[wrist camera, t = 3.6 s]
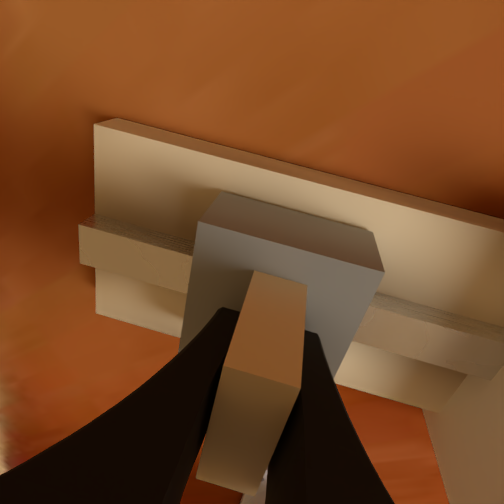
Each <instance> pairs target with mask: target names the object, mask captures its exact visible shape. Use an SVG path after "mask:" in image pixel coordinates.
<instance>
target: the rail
mask: <svg viewBox="0 0 504 504" xmlns="http://www.w3.org/2000/svg"><path fill="white" fill-rule="evenodd" d="M78 227H79V254H80V264H84V265H87V266H91V267H94V268H98V269H101V270H105V271H108V272H112V273H115V274H119V275H122V276H126V277H129V278H133V279H136V280H140V281H143V282H147V283H150V284H154V285H157V286H161V287H164V288H168V289H171V290H175V291H178V292H182V293H185V294H187V291H188V285H189V278H190V272H191V265H192V258H193V252H194V245H195V241H192V240H188V239H184V238H181V237H177V236H174V235H170V234H166V233H163V232H159V231H156V230H152V229H148V228H145V227H141V226H138V225H134V224H130V223H127V222H123V221H120V220H116V219H112V218H109V217H105V216H102V215H98V214H93V215H92V216H90V217H89V218H87V219H86V220H84V221H83V222H81V223H80V224H78ZM352 341H353V342H357V343H360V344H364V345H367V346H371V347H374V348H378V349H381V350H385V351H388V352H392V353H395V354H399V355H402V356H406V357H409V358H413V359H416V360H420V361H423V362H427V363H430V364H434V365H437V366H441V367H444V368H448V369H451V370H455V371H458V372H462V373H465V374H469V375H472V376H476V377H479V378H483V379H486V380H490V381H491V380H492V379H493V377H494V376H495V375H496V374H497V372H498V371H499V370H500V369H501V368H502V366H503V365H504V327H501V326H498V325H494V324H490V323H487V322H483V321H480V320H476V319H472V318H469V317H465V316H462V315H458V314H454V313H451V312H447V311H444V310H440V309H436V308H433V307H429V306H426V305H422V304H418V303H415V302H411V301H408V300H404V299H400V298H397V297H393V296H390V295H386V294H382V293H379V292H376V293H375V295H374V297H373V299H372V301H371V303H370V305H369V307H368V309H367V311H366V313H365V315H364V317H363V319H362V321H361V324H360V326H359V328H358V330H357V332H356V334H355V336H354V338H353V340H352Z"/></svg>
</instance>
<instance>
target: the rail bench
mask: <svg viewBox="0 0 504 504" xmlns="http://www.w3.org/2000/svg"><path fill="white" fill-rule="evenodd" d="M94 187H95V214H98V215H102V216H105V217H109V218H112V219H116V220H120V221H123V222H127V223H130V224H134V225H138V226H141V227H145V228H148V229H152V230H156V231H159V232H163V233H166V234H170V235H174V236H177V237H181V238H184V239H188V240H192V241H195V239H196V232H197V225H198V221H199V219H200V218H201V217H202V216H203V214H204V213H205V212H206V211H207V209H208V208H209V207H210V205H211V204H212V203H213V202H214V200H215V199H216V198H217V197H218V195H219V194H220V193H221V191H223V192H226V193H230V194H234V195H237V196H241V197H245V198H249V199H252V200H256V201H260V202H263V203H267V204H271V205H275V206H278V207H282V208H286V209H289V210H293V211H297V212H301V213H304V214H308V215H312V216H315V217H319V218H323V219H326V220H330V221H334V222H338V223H341V224H345V225H349V226H352V227H356V228H360V229H364V230H367V231H371V232H373V234H374V237H375V241H376V244H377V247H378V251H379V254H380V257H381V261H382V264H383V267H384V270H385V274H384V276H383V278H382V280H381V282H380V284H379V286H378V288H377V291H376V292H379V293H382V294H386V295H390V296H393V297H397V298H400V299H404V300H408V301H411V302H415V303H418V304H422V305H426V306H429V307H433V308H436V309H440V310H444V311H447V312H451V313H454V314H458V315H462V316H465V317H469V318H472V319H476V320H480V321H483V322H487V323H490V324H494V325H498V326H501V327H504V219H500V218H496V217H493V216H489V215H485V214H481V213H477V212H474V211H470V210H466V209H462V208H458V207H455V206H451V205H447V204H443V203H439V202H436V201H432V200H428V199H424V198H420V197H417V196H413V195H409V194H405V193H401V192H398V191H394V190H390V189H386V188H382V187H379V186H375V185H371V184H367V183H363V182H360V181H356V180H352V179H348V178H344V177H341V176H337V175H333V174H329V173H325V172H322V171H318V170H314V169H310V168H306V167H303V166H299V165H295V164H291V163H287V162H284V161H280V160H276V159H272V158H268V157H265V156H261V155H257V154H253V153H249V152H246V151H242V150H238V149H234V148H230V147H227V146H223V145H219V144H215V143H211V142H208V141H204V140H200V139H196V138H192V137H189V136H185V135H181V134H177V133H173V132H169V131H166V130H162V129H158V128H154V127H150V126H147V125H143V124H139V123H135V122H131V121H128V120H124V119H120V118H115V119H111V120H107V121H103V122H99V123H96V124H94ZM95 275H96V313H97V314H100V315H104V316H107V317H110V318H114V319H117V320H121V321H124V322H128V323H131V324H134V325H138V326H141V327H145V328H148V329H152V330H155V331H158V332H162V333H165V334H169V335H172V336H175V337H179V338H181V331H182V325H183V318H184V311H185V305H186V298H187V294H185V293H182V292H178V291H175V290H171V289H168V288H164V287H161V286H157V285H154V284H150V283H147V282H143V281H140V280H136V279H133V278H129V277H126V276H122V275H119V274H115V273H112V272H108V271H105V270H101V269H98V268H95ZM467 375H468V374H465V373H462V372H458V371H455V370H451V369H448V368H444V367H441V366H437V365H434V364H430V363H427V362H423V361H420V360H416V359H413V358H409V357H406V356H402V355H399V354H395V353H392V352H388V351H385V350H381V349H378V348H374V347H371V346H367V345H364V344H360V343H357V342H353V341H352V342H351V344H350V346H349V348H348V350H347V352H346V354H345V357H344V359H343V361H342V363H341V365H340V367H339V369H338V371H337V373H336V375H335V377H334V382H335V383H336V384H340V385H343V386H347V387H350V388H353V389H357V390H360V391H364V392H367V393H370V394H374V395H377V396H381V397H384V398H388V399H391V400H394V401H398V402H401V403H405V404H408V405H412V406H415V407H418V408H422V409H425V410H429V411H432V412H435V413H439V412H440V411H441V409H442V408H443V407H444V405H445V404H446V403H447V402H448V400H449V399H450V398H451V396H452V395H453V394H454V392H455V391H456V390H457V388H458V387H459V386H460V384H461V383H462V382H463V380H464V379H465V378H466V376H467Z"/></svg>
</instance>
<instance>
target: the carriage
mask: <svg viewBox="0 0 504 504" xmlns="http://www.w3.org/2000/svg"><path fill="white" fill-rule="evenodd" d="M384 274H385V270H384V267H383V264H382V261H381V257H380V254H379V251H378V247H377V244H376V241H375V237H374V234H373V232H371V231H367V230H364V229H360V228H356V227H352V226H349V225H345V224H341V223H338V222H334V221H330V220H326V219H323V218H319V217H315V216H312V215H308V214H304V213H301V212H297V211H293V210H289V209H286V208H282V207H278V206H275V205H271V204H267V203H263V202H260V201H256V200H252V199H249V198H245V197H241V196H237V195H234V194H230V193H226V192H223V191H221V193H220V194H219V195H218V197H217V198H216V199H215V200H214V202H213V203H212V204H211V205H210V207H209V208H208V209H207V211H206V212H205V213H204V214H203V216H202V217H201V218H200V219H199V221H198V225H197V232H196V239H195V245H194V252H193V258H192V265H191V272H190V278H189V285H188V291H187V298H186V305H185V311H184V318H183V325H182V331H181V338H180V344H179V351H178V353H179V352H180V351H181V350H182V349H183V348H184V347H185V346H186V345H187V344H188V343H189V342H190V341H191V340H192V339H193V338H194V337H195V336H196V335H197V334H198V333H199V332H200V331H201V330H202V329H203V328H204V326H205V325H206V324H207V323H208V322H209V321H210V319H211V318H212V317H213V316H214V314H215V313H216V311H217V310H218V309H219V308H221V307H225V308H229V309H232V310H236V311H239V312H241V313H240V316H239V319H238V322H237V325H236V328H235V331H234V334H233V337H232V340H231V343H230V346H229V349H228V352H227V355H226V358H225V362H224V365H223V368H222V372H221V376H220V381H219V385H218V389H217V393H216V397H215V401H214V405H213V409H212V413H211V417H210V421H209V425H208V429H207V433H206V437H205V441H204V445H203V449H202V454H201V458H200V462H199V466H198V470H197V474H196V479H199V480H202V481H206V482H209V483H212V484H215V485H218V486H222V487H225V488H228V489H231V490H235V491H238V492H241V493H244V494H247V495H251V496H254V497H255V495H256V493H257V490H258V488H259V486H260V483H261V481H262V479H263V476H264V474H265V471H266V469H267V467H268V464H269V462H270V460H271V457H272V455H273V453H274V450H275V448H276V446H277V443H278V441H279V438H280V436H281V434H282V431H283V429H284V427H285V424H286V422H287V420H288V417H289V415H290V413H291V410H292V408H293V405H294V403H295V401H296V398H297V396H298V394H299V391H300V389H301V377H302V361H303V346H304V331H305V330H307V331H310V332H314V333H317V334H318V335H319V337H320V340H321V344H322V347H323V350H324V353H325V356H326V359H327V362H328V365H329V368H330V371H331V374H332V376H333V379H334V377H335V375H336V373H337V371H338V369H339V367H340V365H341V363H342V361H343V359H344V357H345V354H346V352H347V350H348V348H349V346H350V344H351V342H352V340H353V338H354V336H355V334H356V332H357V330H358V328H359V326H360V324H361V321H362V319H363V317H364V315H365V313H366V311H367V309H368V307H369V305H370V303H371V301H372V299H373V297H374V295H375V293H376V291H377V288H378V286H379V284H380V282H381V280H382V278H383V276H384Z"/></svg>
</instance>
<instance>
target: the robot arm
mask: <svg viewBox="0 0 504 504" xmlns="http://www.w3.org/2000/svg"><path fill="white" fill-rule="evenodd" d="M240 313H241V312H239V311H236V310H232V309H229V308H225V307H221V308H219V309H218V310H217V311H216V313H215V314H214V316H213V317H212V318H211V319H210V321H209V322H208V323H207V324H206V325H205V326H204V328H203V329H202V330H201V331H200V332H199V333H198V334H197V335H196V336H195V337H194V338H193V339H192V340H191V341H190V342H189V343H188V344H187V345H186V346H185V347H184V348H183V349H182V350H181V351H180V352H179V353H178V354H177V355H176V356H175V357H174V358H173V359H172V360H171V361H170V362H168V363H167V364H166V365H165V366H164V367H163V368H162V369H160V370H159V371H158V372H157V373H156V374H155V375H154V376H152V377H151V378H150V379H149V380H148V381H146V382H145V383H144V384H143V385H141V386H140V387H139V388H138V389H136V390H135V391H134V392H132V393H131V394H130V395H128V396H127V397H126V398H124V399H123V400H122V401H120V402H119V403H118V404H116V405H115V406H113V407H112V408H110V409H109V410H107V411H106V412H105V413H103V414H102V415H100V416H99V417H97V418H96V419H94V420H93V421H92V422H90V423H88V424H87V425H85V426H84V427H82V428H81V429H79V430H78V431H76V432H74V433H73V434H71V435H70V436H68V437H66V438H65V439H63V440H61V441H59V442H58V443H56V444H54V445H53V446H51V447H49V448H48V449H46V450H44V451H43V452H41V453H39V454H37V455H36V456H34V457H32V458H31V459H29V460H27V461H26V462H24V463H22V464H20V465H18V466H17V467H15V468H13V469H11V470H9V471H7V472H6V473H4V474H2V475H0V504H180V500H181V497H182V494H183V491H184V488H185V486H186V483H187V480H188V477H189V475H190V472H191V470H192V467H193V465H194V462H195V460H196V457H197V455H198V452H199V450H200V447H201V445H202V442H203V440H204V437H205V435H206V432H207V429H208V425H209V421H210V417H211V413H212V409H213V405H214V401H215V397H216V393H217V389H218V385H219V381H220V376H221V372H222V368H223V365H224V362H225V358H226V355H227V352H228V349H229V346H230V343H231V340H232V337H233V334H234V331H235V328H236V325H237V322H238V319H239V316H240ZM240 504H395V503H394V502H393V500H392V498H391V497H390V495H389V493H388V492H387V490H386V488H385V487H384V485H383V483H382V481H381V479H380V478H379V476H378V474H377V472H376V470H375V468H374V467H373V465H372V463H371V461H370V459H369V457H368V455H367V453H366V451H365V449H364V447H363V445H362V443H361V441H360V439H359V437H358V435H357V433H356V431H355V429H354V427H353V424H352V422H351V420H350V418H349V416H348V413H347V411H346V409H345V406H344V404H343V402H342V399H341V397H340V394H339V392H338V389H337V387H336V384H335V382H334V379H333V376H332V374H331V371H330V368H329V365H328V362H327V359H326V356H325V353H324V350H323V347H322V344H321V340H320V337H319V335H318V334H317V333H314V332H310V331H307V330H305V331H304V346H303V361H302V377H301V389H300V391H299V394H298V396H297V398H296V401H295V403H294V405H293V408H292V410H291V413H290V415H289V417H288V420H287V422H286V424H285V427H284V429H283V431H282V434H281V436H280V438H279V441H278V443H277V446H276V448H275V450H274V453H273V455H272V457H271V460H270V462H269V464H268V467H267V469H266V471H265V474H264V476H263V479H262V481H261V483H260V486H259V488H258V490H257V493H256V495H255V497H254V496H251V495H247V494H243V496H242V499H241V502H240Z"/></svg>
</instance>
